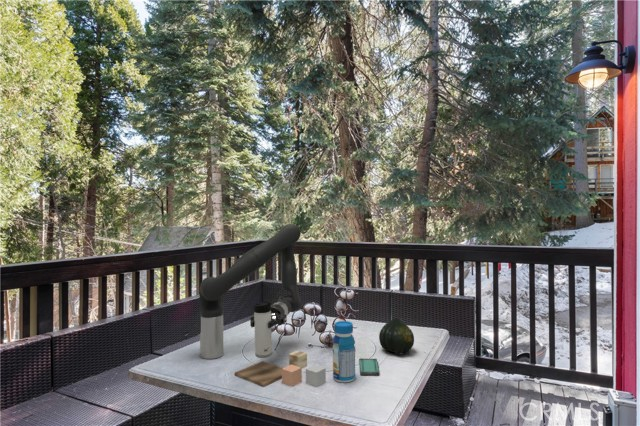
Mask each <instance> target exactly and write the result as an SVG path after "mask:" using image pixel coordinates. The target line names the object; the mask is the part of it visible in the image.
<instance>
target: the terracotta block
mask: <svg viewBox="0 0 640 426" xmlns="http://www.w3.org/2000/svg"><path fill="white" fill-rule="evenodd" d="M282 368H283V369H282V378H281V383H282V384H285V385H288V386H290V387H294V386H296V385H297V384H299V383H302V382H303V379H302V378H303V377H302V375H303V372H302V369H303V368H301V367H298V366H295V365H292V364H291V365H289V364H288V365H286V366H284V367H282Z"/></svg>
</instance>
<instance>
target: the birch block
mask: <svg viewBox="0 0 640 426" xmlns="http://www.w3.org/2000/svg"><path fill="white" fill-rule="evenodd" d="M288 363H289V364H288V366H289V365H291V364H292V365H295V366H298V367H301V368H302V369H303V368H305V367H308V353H307V352H305V351H301V350H295V351H293V352H291V353H289V354H288Z"/></svg>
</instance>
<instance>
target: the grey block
mask: <svg viewBox="0 0 640 426" xmlns="http://www.w3.org/2000/svg"><path fill="white" fill-rule="evenodd" d="M326 375H327V374H326V367H324V366H319V365H316V364H313V365H312V366H309V367H307V368H305V383H306V384H308V385H310V386H314V387H315V388H317V387H319V386H320V385H322V384H324V383H326V382H327V381H326V378H327V377H326Z"/></svg>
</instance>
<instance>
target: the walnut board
mask: <svg viewBox="0 0 640 426" xmlns="http://www.w3.org/2000/svg"><path fill="white" fill-rule="evenodd" d="M283 368H284V367H281V366H278V365H276V364H275V365H274V364H271V363H268V362H266V361H264V360H263V361H259V362H257V363H255V364H252V365H249V366H247V367H245V368H242V369H239V370H237V371H235V372H234V376H235V377H238V378H240V379H243V380H246V381H248V382H250V383H253V384H255V385H257V386H260V387H263V388H264V387H267V386H269V385H270V384H273V383H275V382H277V381H279V380H282V369H283Z"/></svg>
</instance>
